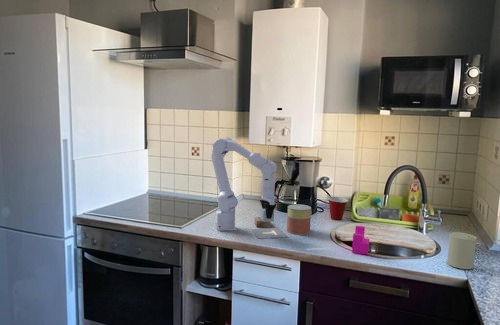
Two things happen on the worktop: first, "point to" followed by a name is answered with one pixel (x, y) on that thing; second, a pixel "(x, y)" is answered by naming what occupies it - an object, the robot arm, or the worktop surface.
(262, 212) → the grey cube
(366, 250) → the toy block
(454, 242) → the can
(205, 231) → the worktop surface
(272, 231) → the light gray board
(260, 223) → the walnut slab
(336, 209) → the plastic cup
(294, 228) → the canned food
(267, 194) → the robot arm
